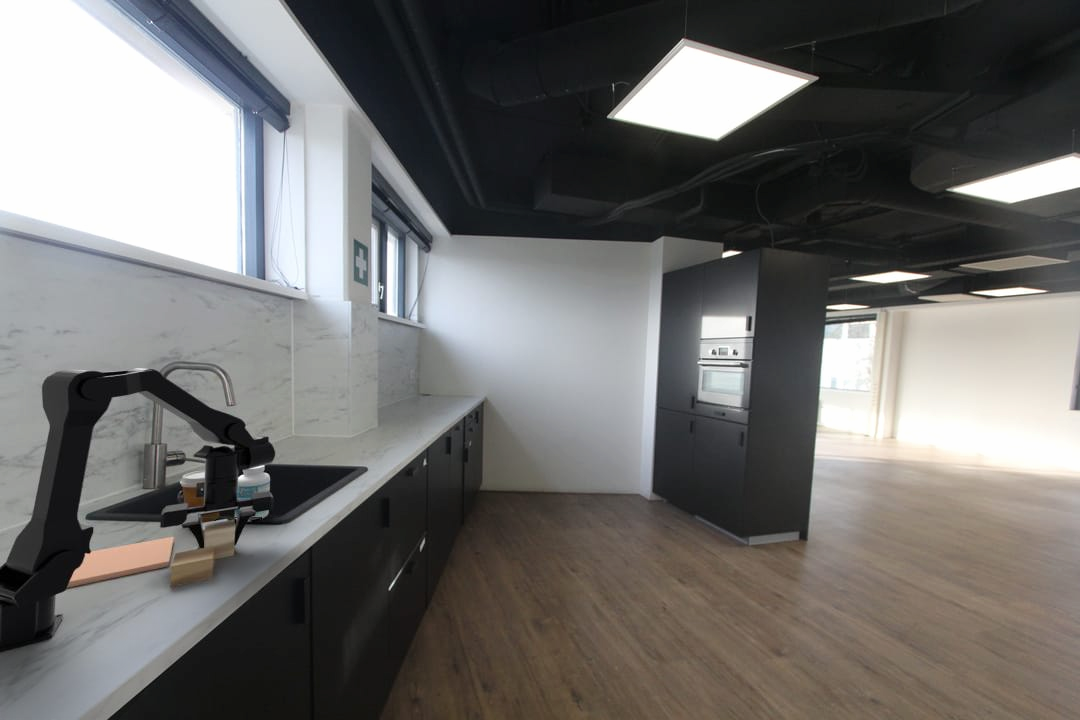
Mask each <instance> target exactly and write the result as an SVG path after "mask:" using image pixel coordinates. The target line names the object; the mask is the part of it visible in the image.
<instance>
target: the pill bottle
mask: <svg viewBox="0 0 1080 720" xmlns="http://www.w3.org/2000/svg"><path fill="white" fill-rule="evenodd" d="M265 466H266V465H263V466H258V467H254V468H250V469H246V470H242V472H243V474H241V475H240V476H238V497H237V501H238V500H244V499H251V494H253V493H260V492H267V491H269V492H270V491H271V477H270V474H269V473H267V472H264V471H265V470H266V469H265V468H266V467H265ZM270 493H271V492H270ZM269 511H270V510H267V511H261V512H256V511H255V512H256V515H255V516H253V517H262V519H264V518H266V517H267V516H268V515H269ZM237 515H238V510H234V520H235V519H236V521H237V518H235V517H237ZM248 522H249V523H250V522H251V521H250V520H248ZM248 522H247V523H248Z"/></svg>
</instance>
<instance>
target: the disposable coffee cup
mask: <svg viewBox="0 0 1080 720" xmlns="http://www.w3.org/2000/svg"><path fill="white" fill-rule="evenodd" d="M181 477H182V478H181V480H180V481H179V484H180V486H181V487H182V494H183V495H182V497H183V503H188V508H191V507H197V506H204V497H202V498H196V484H197V483H201V482H205V469H204V470H197V471H192V472H189V473H185V474H184V475H182V476H181ZM215 509H217V508H215ZM209 510H211V509H209ZM220 513H221V512H219V513H213V514H206V515H201V517H219V518H220ZM214 519H218V518H202V523H205V522H211V521H214ZM218 520H219V519H218Z"/></svg>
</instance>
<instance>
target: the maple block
mask: <svg viewBox="0 0 1080 720" xmlns="http://www.w3.org/2000/svg"><path fill="white" fill-rule="evenodd" d="M235 527H236V522H235V519H230V520H229V519H228V520H227V521H223V522H217V523H211V524H205V540H204V548H207V547H212V546H215V556H214V560H217V559H218V560H219V559H222V558H228V557H231V556H232V557H233V556H235V546H234V540H235Z"/></svg>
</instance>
